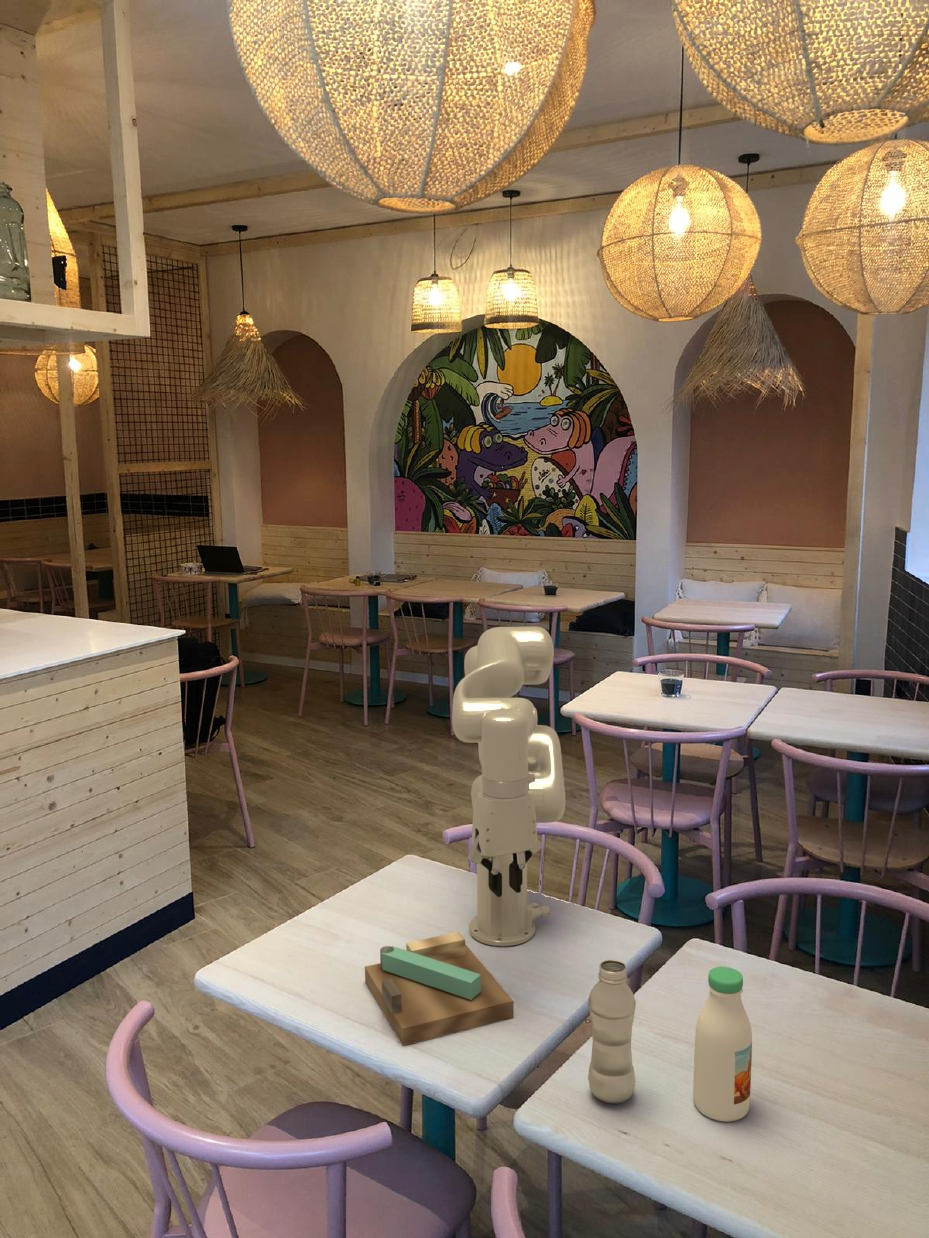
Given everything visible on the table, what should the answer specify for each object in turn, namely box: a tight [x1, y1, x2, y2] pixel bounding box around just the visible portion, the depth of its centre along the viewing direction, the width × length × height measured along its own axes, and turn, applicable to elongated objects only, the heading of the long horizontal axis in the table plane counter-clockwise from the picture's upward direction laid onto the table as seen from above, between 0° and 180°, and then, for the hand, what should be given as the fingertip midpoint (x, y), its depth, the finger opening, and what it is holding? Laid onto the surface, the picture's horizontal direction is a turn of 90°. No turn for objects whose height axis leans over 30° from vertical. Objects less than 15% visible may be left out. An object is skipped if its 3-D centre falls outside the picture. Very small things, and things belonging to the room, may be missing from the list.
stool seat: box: [364, 931, 514, 1047], centre depth 164 cm, size 19×20×6 cm
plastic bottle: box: [587, 959, 637, 1105], centre depth 138 cm, size 6×7×20 cm
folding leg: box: [379, 945, 481, 1000], centre depth 164 cm, size 19×3×3 cm, turn 58°
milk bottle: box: [692, 966, 753, 1123], centre depth 136 cm, size 8×8×20 cm
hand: (505, 890), depth 162 cm, fingers open, 2 cm apart
